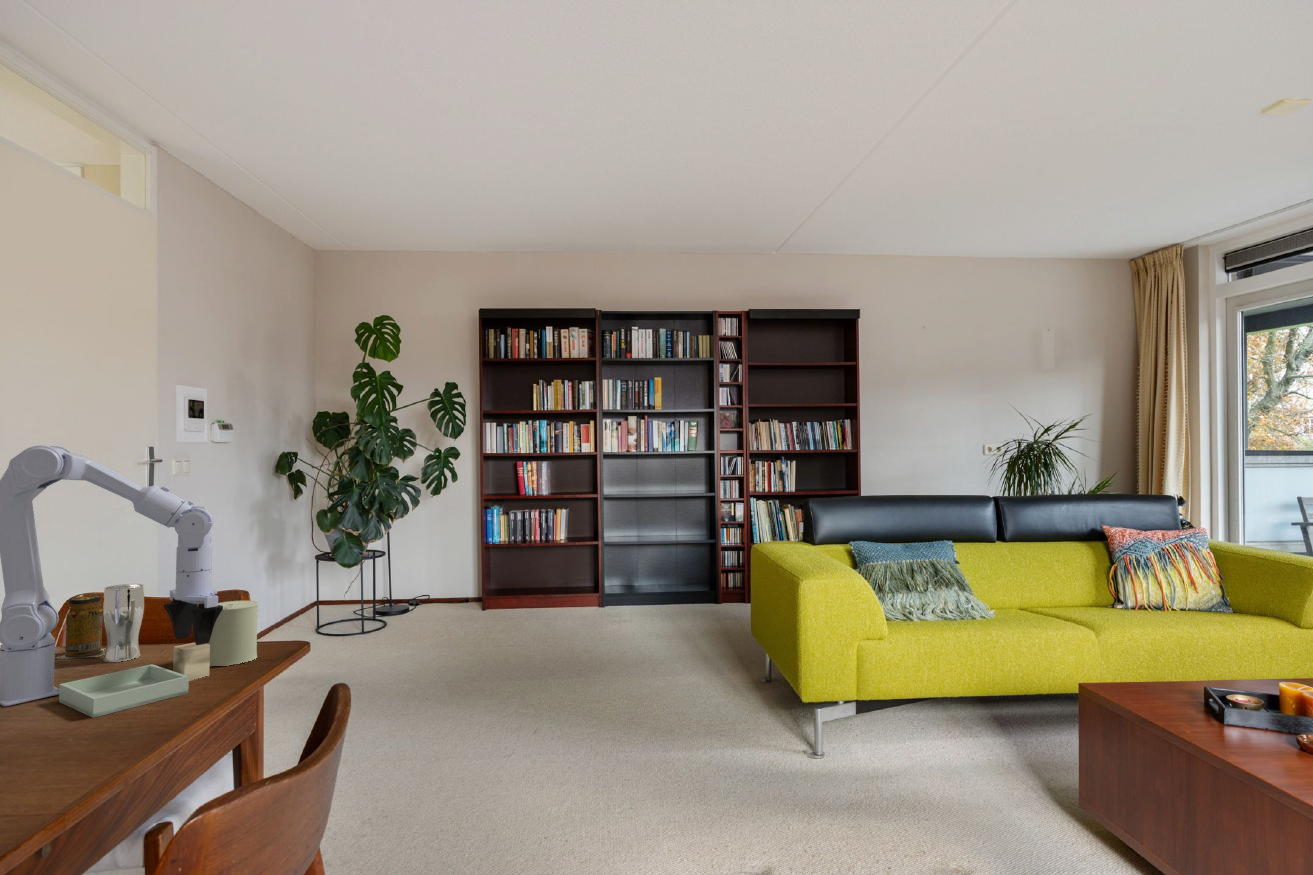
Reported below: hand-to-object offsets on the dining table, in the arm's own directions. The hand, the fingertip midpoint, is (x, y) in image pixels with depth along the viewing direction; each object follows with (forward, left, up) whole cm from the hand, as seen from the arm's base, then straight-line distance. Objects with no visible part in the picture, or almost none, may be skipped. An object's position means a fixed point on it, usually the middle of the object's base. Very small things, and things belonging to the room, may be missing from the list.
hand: (192, 641), depth 135 cm
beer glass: (-26, -2, -7) cm, 27 cm away
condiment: (-36, -4, -7) cm, 37 cm away
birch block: (0, 0, -7) cm, 7 cm away
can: (-5, +10, -7) cm, 13 cm away
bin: (+3, -12, -7) cm, 14 cm away
